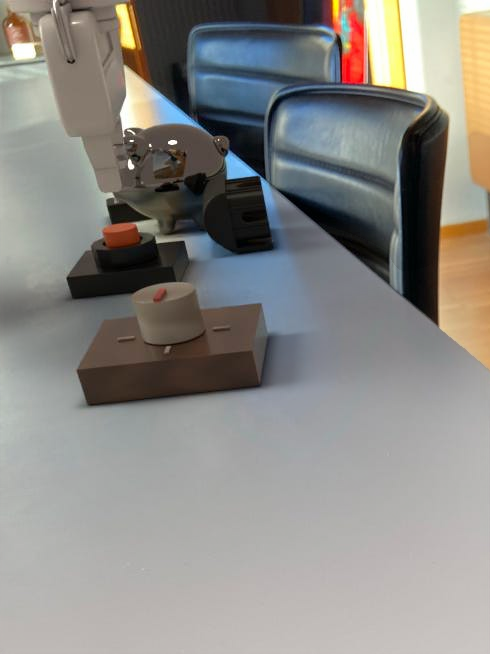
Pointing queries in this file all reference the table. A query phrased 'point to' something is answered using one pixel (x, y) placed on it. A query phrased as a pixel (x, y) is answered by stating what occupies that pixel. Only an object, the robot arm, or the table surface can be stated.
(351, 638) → the table surface
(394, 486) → the table surface
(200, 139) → the piggy bank
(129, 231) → the button
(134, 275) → the box
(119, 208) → the multiport hub
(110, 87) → the robot arm
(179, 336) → the dial knob
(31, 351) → the table surface
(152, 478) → the table surface
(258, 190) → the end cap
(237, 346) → the dial panel
